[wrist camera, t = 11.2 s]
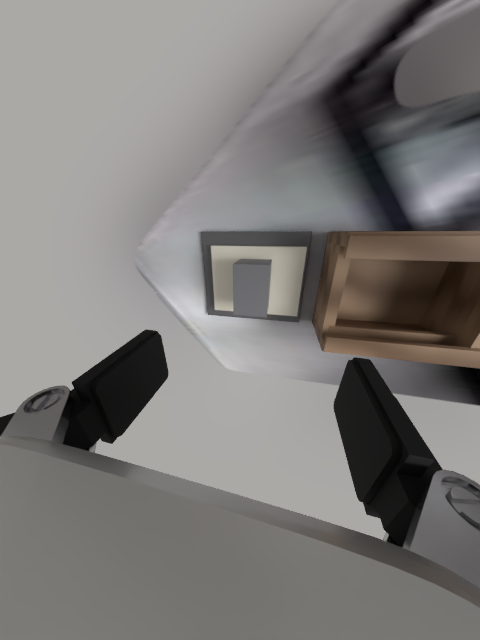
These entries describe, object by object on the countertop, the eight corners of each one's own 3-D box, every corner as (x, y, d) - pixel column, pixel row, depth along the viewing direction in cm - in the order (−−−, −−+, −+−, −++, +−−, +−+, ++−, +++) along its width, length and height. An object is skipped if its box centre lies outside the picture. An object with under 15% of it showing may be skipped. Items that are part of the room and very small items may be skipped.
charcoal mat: (202, 231, 25) (201, 231, 25) (311, 231, 23) (311, 231, 22) (209, 313, 30) (208, 314, 30) (298, 320, 28) (298, 322, 27)
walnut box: (328, 231, 22) (351, 231, 15) (469, 231, 20) (577, 230, 13) (312, 321, 27) (323, 353, 20) (422, 330, 25) (479, 371, 18)
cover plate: (213, 245, 25) (196, 248, 20) (306, 246, 23) (312, 250, 18) (216, 307, 29) (203, 322, 24) (296, 313, 27) (299, 331, 22)
